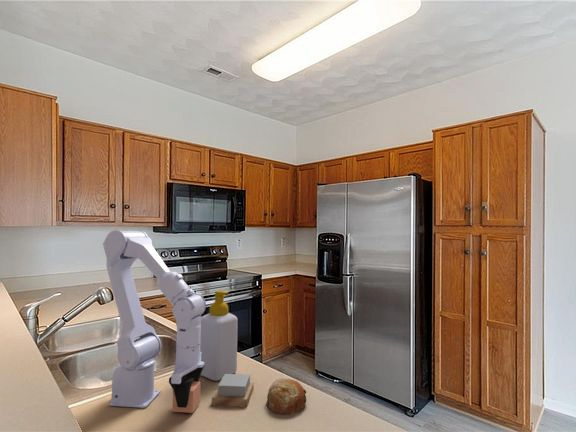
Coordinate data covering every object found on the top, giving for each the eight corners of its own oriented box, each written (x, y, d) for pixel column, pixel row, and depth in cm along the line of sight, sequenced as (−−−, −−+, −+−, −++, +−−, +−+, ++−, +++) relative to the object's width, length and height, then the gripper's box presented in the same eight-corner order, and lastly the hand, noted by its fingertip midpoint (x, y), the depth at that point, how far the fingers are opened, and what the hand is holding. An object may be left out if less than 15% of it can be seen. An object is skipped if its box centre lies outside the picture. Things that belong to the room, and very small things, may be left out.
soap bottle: (215, 383, 94) (217, 295, 95) (196, 374, 100) (198, 291, 101) (238, 372, 101) (240, 290, 103) (218, 365, 107) (220, 287, 108)
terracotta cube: (172, 411, 78) (173, 390, 78) (180, 400, 83) (181, 380, 83) (192, 412, 78) (193, 391, 78) (199, 402, 83) (200, 381, 83)
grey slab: (217, 395, 84) (218, 385, 84) (224, 383, 90) (224, 373, 91) (245, 396, 83) (245, 386, 83) (249, 383, 90) (250, 374, 90)
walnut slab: (211, 407, 82) (211, 397, 83) (221, 390, 91) (221, 381, 91) (246, 409, 82) (246, 399, 82) (253, 392, 91) (253, 382, 91)
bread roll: (268, 410, 87) (256, 384, 86) (300, 388, 90) (289, 363, 90) (280, 432, 78) (267, 403, 77) (316, 406, 81) (303, 378, 80)
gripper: (193, 356, 74) (191, 418, 73) (213, 335, 88) (211, 387, 87) (163, 354, 74) (161, 416, 74) (187, 334, 89) (186, 386, 88)
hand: (186, 400), depth 81 cm, fingers closed on terracotta cube, 5 cm apart
